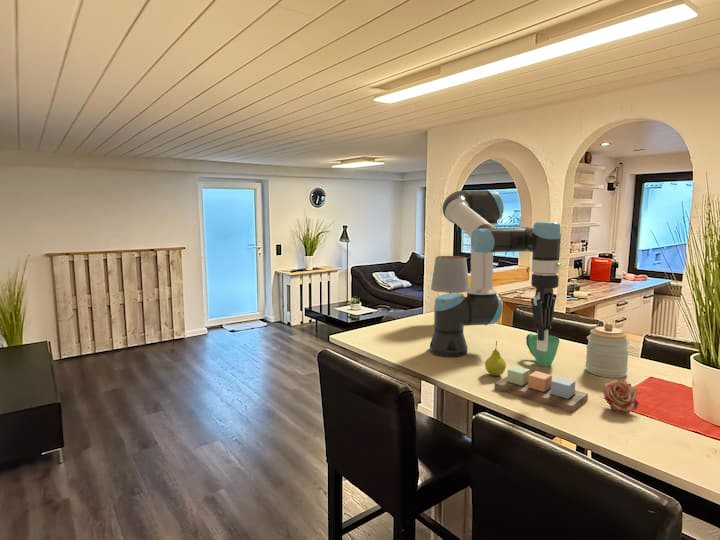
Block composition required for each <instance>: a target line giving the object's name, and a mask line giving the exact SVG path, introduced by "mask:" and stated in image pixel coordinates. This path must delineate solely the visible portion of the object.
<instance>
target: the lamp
mask: <svg viewBox="0 0 720 540" xmlns="http://www.w3.org/2000/svg"><path fill="white" fill-rule="evenodd" d="M470 288H471V286H470V281H469V271H468V263H467V257H466V256H461V255H439V256H438V255H437V256H435V260H434V266H433V273H432V279H431V287H430V289H431V291H434V292H437V293H444V294H448V293H465V292H466V293H467V291H468V290H469V289H470Z"/></svg>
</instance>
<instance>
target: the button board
mask: <svg viewBox="0 0 720 540" xmlns="http://www.w3.org/2000/svg"><path fill="white" fill-rule="evenodd" d="M528 383H529V382H528ZM528 383H526V384H524V385H523V386H521V385H517V384H514V383H510V382H507V376H505V377H503V378H502V379H500V380H497V381H496V382H494V390H497V391H500V392H503V393H506V394H510V395H513V396H516V397H518V398H519V397H520V398H523V399H525V400H529V401H532V402H535V401H536V403H539V404H542V405H544V406H545V405H546V406H548V407H552V408H555V409H559V410H563V411H565V412H568V413H574V412H575V411H576V410H577V409H578V408H580V407H581V406H583V404H584V403H586V402H587V401H588V400H589V399H588V396H589V393H586V392H584V391H580V390H576V389H575V394H574V395H573V396H571V397H570V398H569V399H566V398H563V397H559V396H556V395H552V394H551V388H550V389H548V390H547V391H545V392H542V391H538V390H535V389H531V388H528Z"/></svg>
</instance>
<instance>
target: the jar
mask: <svg viewBox="0 0 720 540" xmlns="http://www.w3.org/2000/svg"><path fill="white" fill-rule="evenodd" d="M589 333H590V334H589V335H588V336H586V339H587V340H588V343H587V345H586V346H585V347H586V357H585V359H586V361H585V370H586V371H587V372H588V373H589V374H592V375H594V376H597V377H598V376H599V377H603V378H607V379H619V378H621V379H622V378H625V377H626V376H627V373H628V371H629V370H628V359H629V353H630V350H629V349H628V345H630V342H631V341H630V340H628V339H627V337H628V334H627V333H626V332H624V331H623V330H622V329H620V328H616V327H614V325H613V324H612V323H611V322H606V323H605V324H604V326H596V327H594V328H592V329H590V331H589Z"/></svg>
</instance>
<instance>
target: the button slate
mask: <svg viewBox="0 0 720 540" xmlns="http://www.w3.org/2000/svg"><path fill="white" fill-rule="evenodd" d="M575 390H576V380H572V379H568V378H565V377H561V376H558V377H556V378H555V379H552V381H551V394H552V395H556V397H559V398H563V399H566V400H570V399H569V398H570V397H571V396H573V395H574V394H575Z"/></svg>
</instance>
